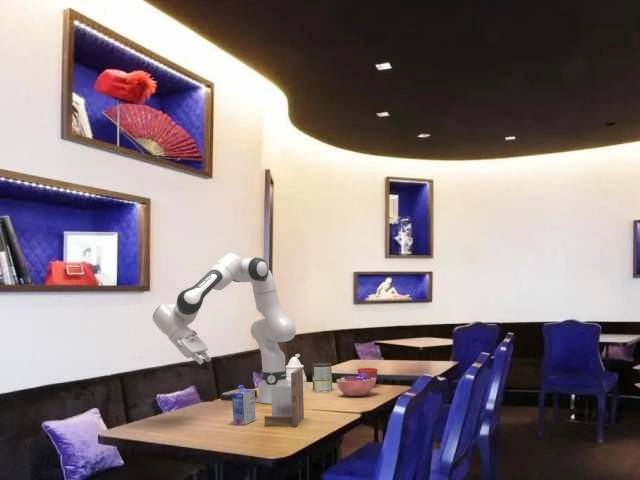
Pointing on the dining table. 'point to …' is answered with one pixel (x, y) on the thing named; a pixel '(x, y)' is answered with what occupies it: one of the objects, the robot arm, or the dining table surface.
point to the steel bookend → (281, 401)
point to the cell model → (356, 384)
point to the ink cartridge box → (243, 406)
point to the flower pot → (369, 372)
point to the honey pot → (293, 366)
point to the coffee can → (322, 377)
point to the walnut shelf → (296, 403)
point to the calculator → (228, 395)
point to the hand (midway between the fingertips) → (206, 361)
